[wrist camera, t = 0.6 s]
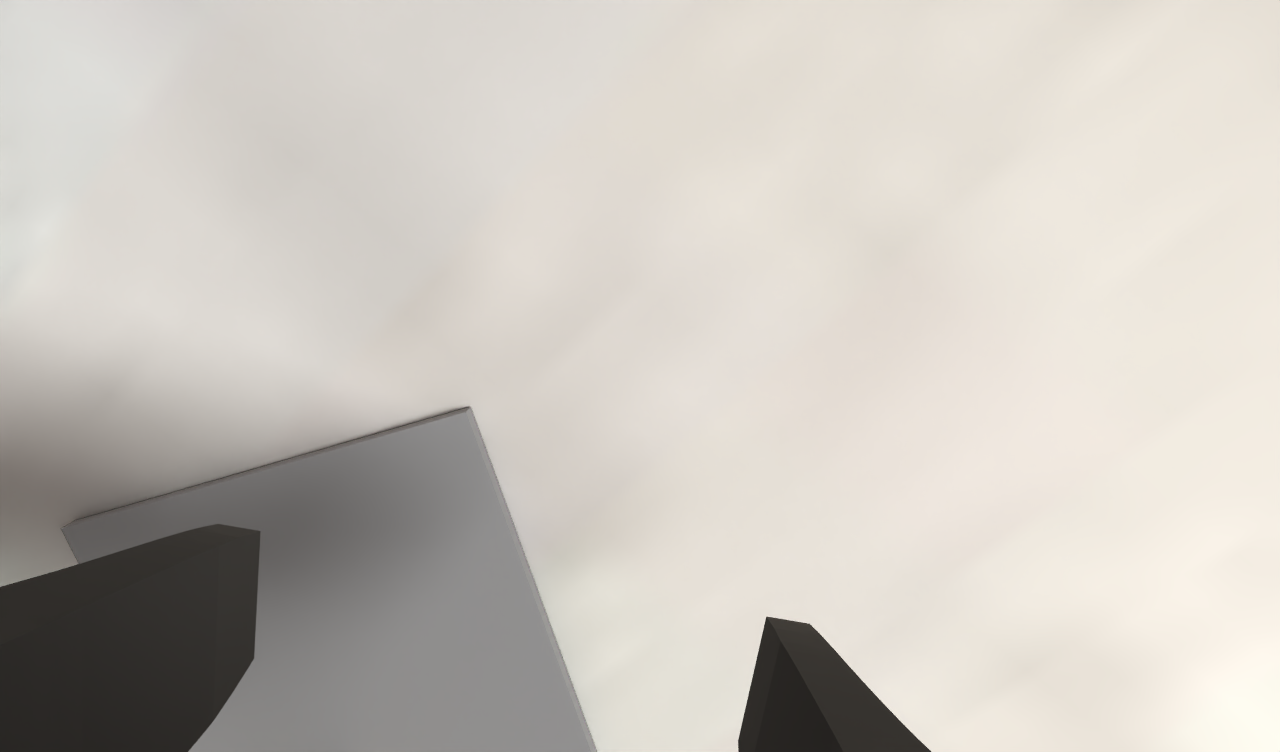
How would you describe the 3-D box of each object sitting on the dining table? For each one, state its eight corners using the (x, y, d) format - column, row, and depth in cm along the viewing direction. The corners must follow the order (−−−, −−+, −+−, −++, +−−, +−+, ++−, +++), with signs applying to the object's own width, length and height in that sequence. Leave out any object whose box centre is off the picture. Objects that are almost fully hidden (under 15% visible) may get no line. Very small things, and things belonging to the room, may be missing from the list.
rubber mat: (662, 929, 24) (662, 944, 24) (317, 1000, 26) (310, 1016, 25) (470, 406, 21) (465, 411, 20) (74, 521, 22) (60, 528, 21)
